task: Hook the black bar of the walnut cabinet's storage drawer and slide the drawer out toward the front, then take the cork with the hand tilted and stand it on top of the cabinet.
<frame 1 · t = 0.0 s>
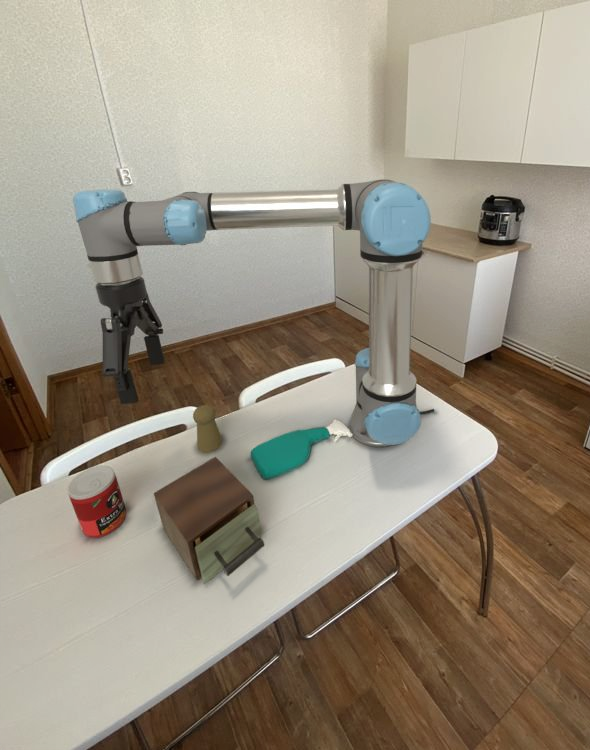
hand: (144, 381, 76), 28 cm above the table, tool pointing down, fingers open, 13 cm apart
cabinet: (210, 530, 76), on the table
cork: (210, 444, 98), on the table
spray bottle: (303, 449, 96), on the table
canned food: (105, 522, 78), on the table
drawer: (220, 529, 71), point 5 cm above the table, slide at 1.0 cm
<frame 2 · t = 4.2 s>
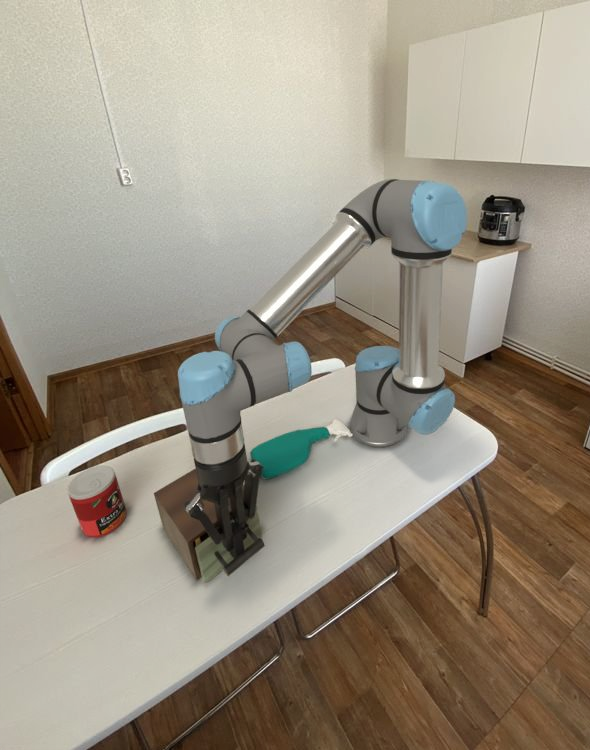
hand: (237, 555, 67), 4 cm above the table, tool pointing down, fingers closed
drawer: (220, 529, 71), point 5 cm above the table, slide at 1.1 cm, touching gripper
everything else where it was.
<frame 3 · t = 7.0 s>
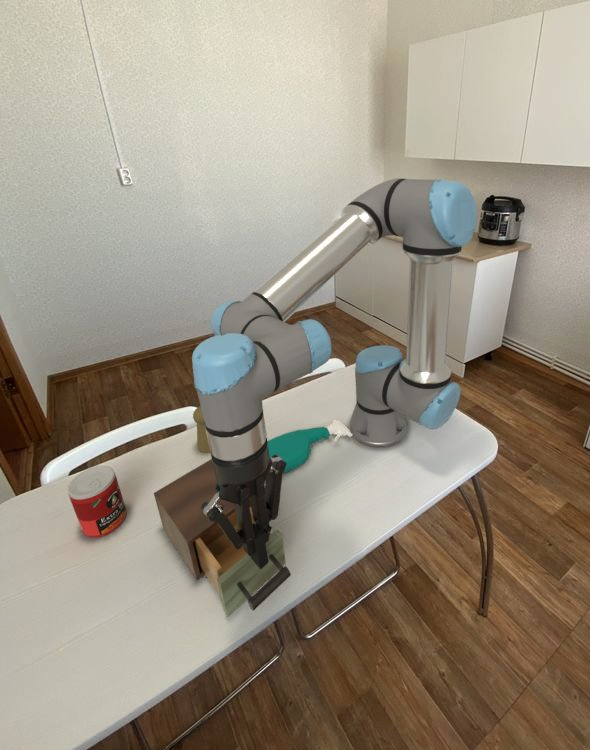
hand: (259, 560, 61), 9 cm above the table, tool pointing down, fingers closed
drawer: (242, 556, 66), point 5 cm above the table, slide at 8.5 cm
everything else where it was.
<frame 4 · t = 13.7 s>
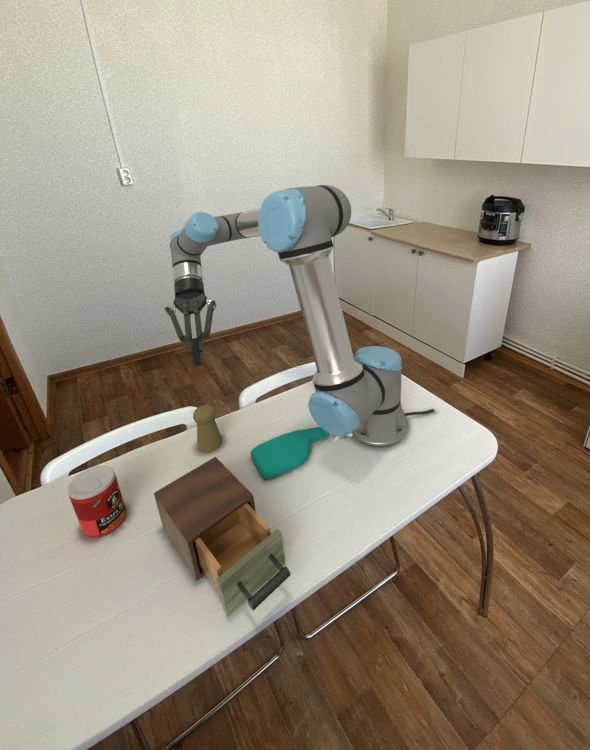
hand: (197, 364, 98), 20 cm above the table, tool tilted 45°, fingers closed
nothing on the table moved.
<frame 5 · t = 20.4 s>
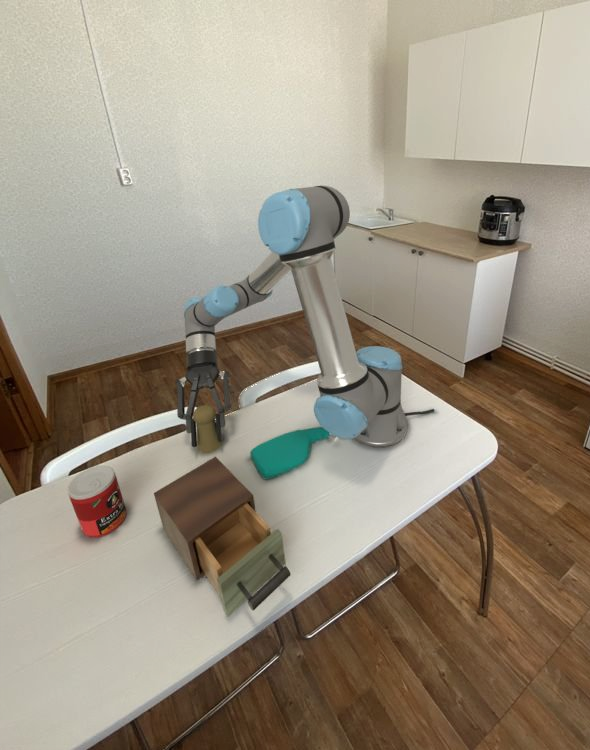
hand: (207, 443, 94), 3 cm above the table, tool tilted 45°, fingers closed on cork, 5 cm apart
cork: (210, 444, 98), on the table, touching gripper
everything else where it was.
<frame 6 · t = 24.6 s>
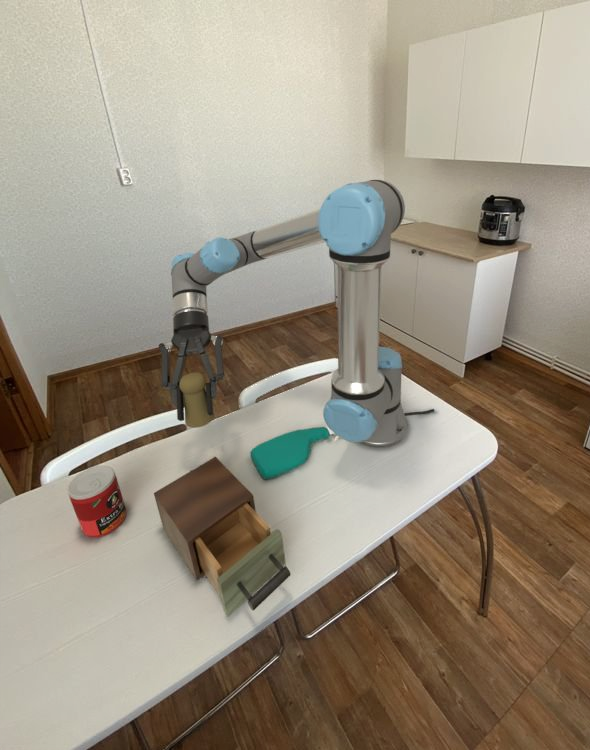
hand: (195, 416, 80), 18 cm above the table, tool tilted 45°, fingers closed on cork, 5 cm apart
cork: (200, 419, 85), point 15 cm above the table, touching gripper
everything else where it was.
when the fingers open (13 cm above the table, at t = 29.1 s): cork stays where it is, resting on cabinet.
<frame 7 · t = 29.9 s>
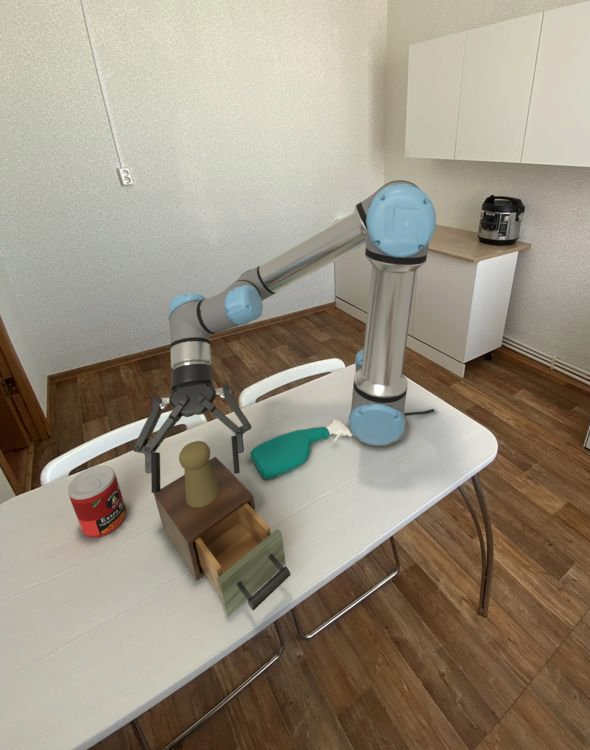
hand: (197, 482, 69), 15 cm above the table, tool tilted 45°, fingers open, 13 cm apart
cork: (203, 494, 72), point 9 cm above the table, touching cabinet
everything else where it was.
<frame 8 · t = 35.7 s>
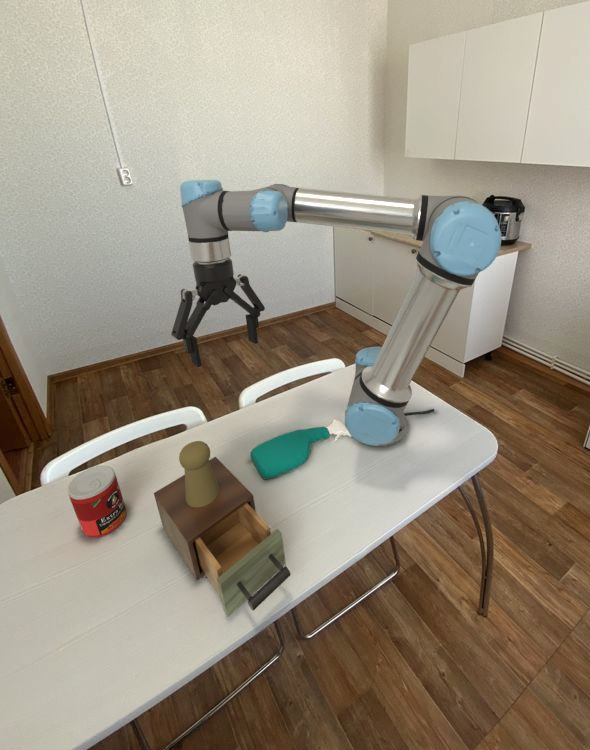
hand: (226, 352, 85), 29 cm above the table, tool pointing down, fingers open, 13 cm apart
nothing on the table moved.
at the end: drawer slide at 8.4 cm; cork inside the target area on the cabinet (0.1 cm from its centre), point 9.4 cm above the cabinet's base; cork tilted 0° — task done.
